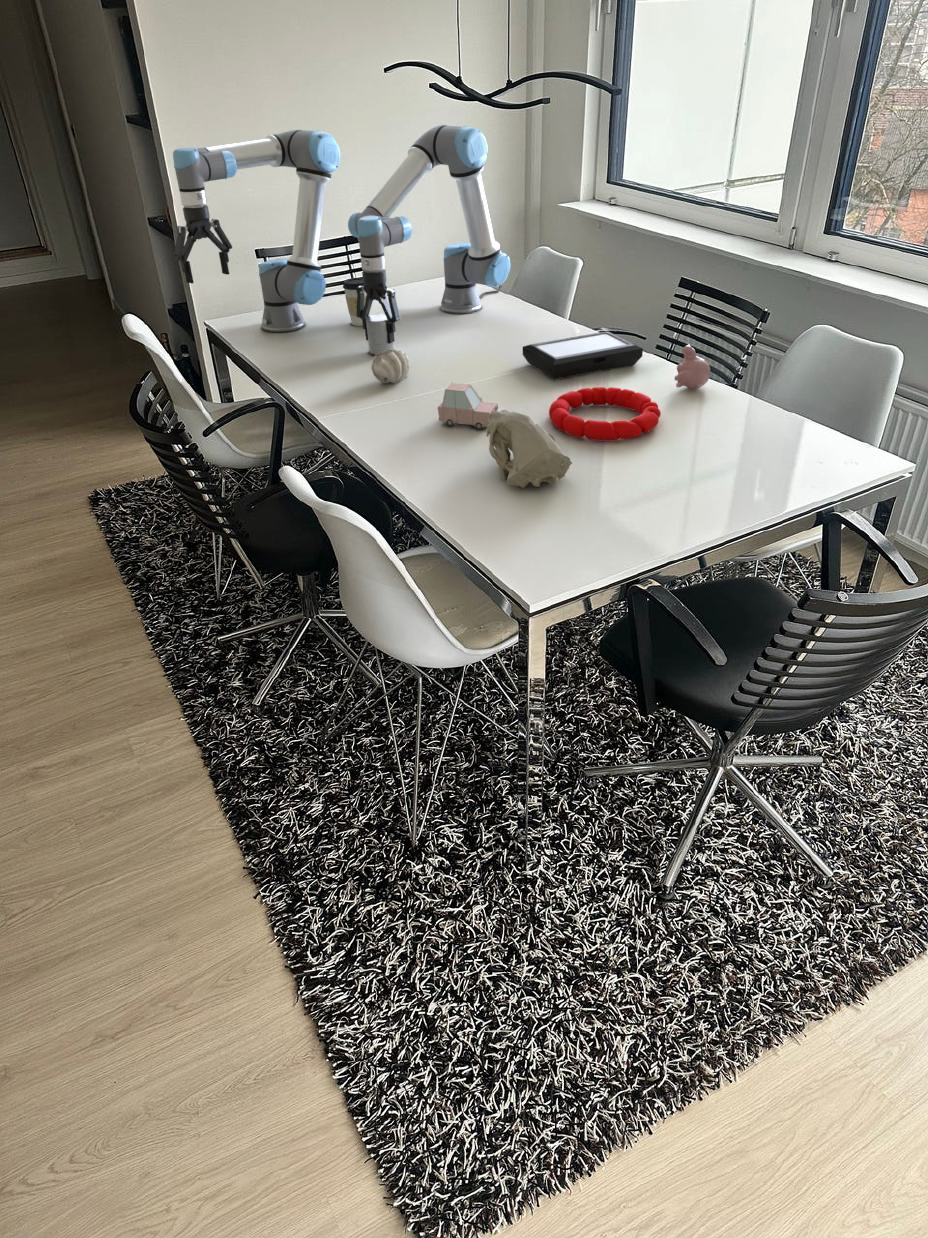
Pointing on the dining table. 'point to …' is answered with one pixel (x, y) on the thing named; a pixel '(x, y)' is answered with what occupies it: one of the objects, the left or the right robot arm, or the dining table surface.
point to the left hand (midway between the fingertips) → (208, 278)
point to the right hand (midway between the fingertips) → (380, 340)
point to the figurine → (692, 370)
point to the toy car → (465, 406)
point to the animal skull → (525, 450)
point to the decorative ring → (604, 428)
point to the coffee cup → (353, 298)
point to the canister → (378, 333)
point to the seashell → (390, 366)
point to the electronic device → (582, 354)
